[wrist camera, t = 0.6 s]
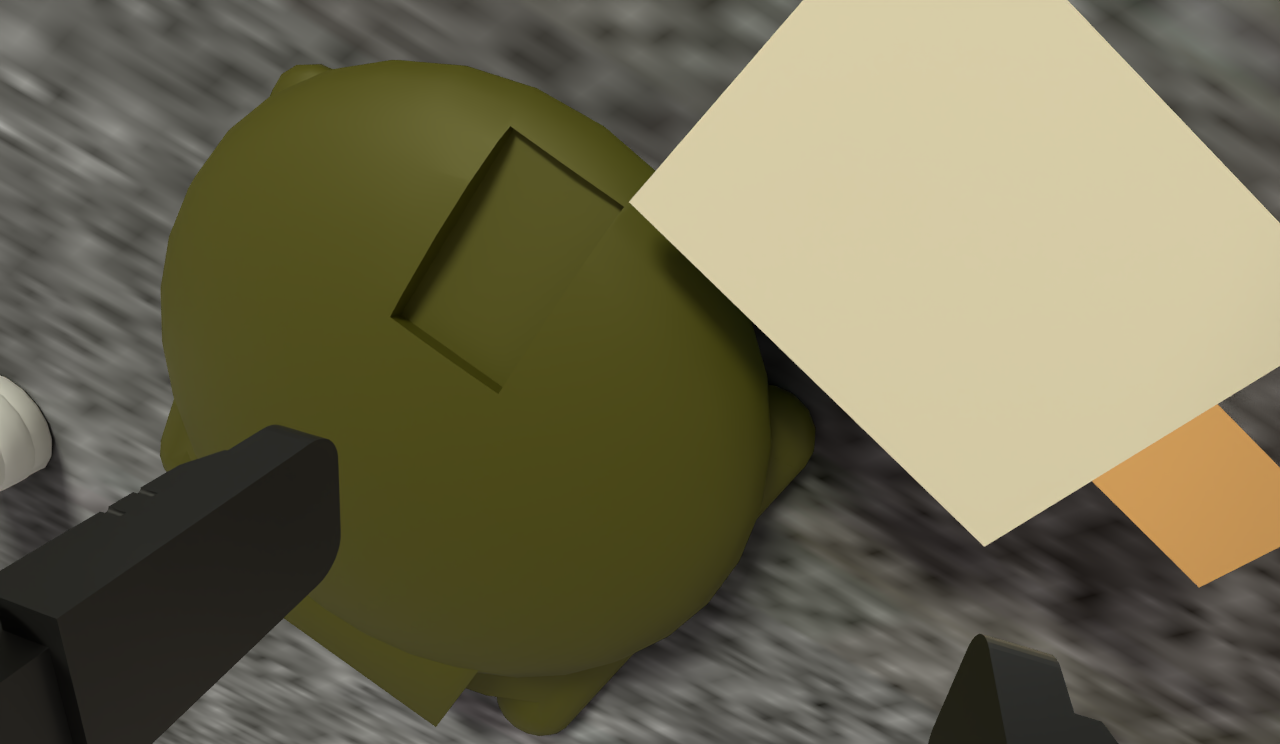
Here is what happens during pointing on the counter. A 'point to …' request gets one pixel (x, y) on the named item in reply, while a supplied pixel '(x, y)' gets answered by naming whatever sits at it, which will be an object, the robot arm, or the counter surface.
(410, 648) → the spaceship
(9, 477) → the bottle
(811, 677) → the counter surface
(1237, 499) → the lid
